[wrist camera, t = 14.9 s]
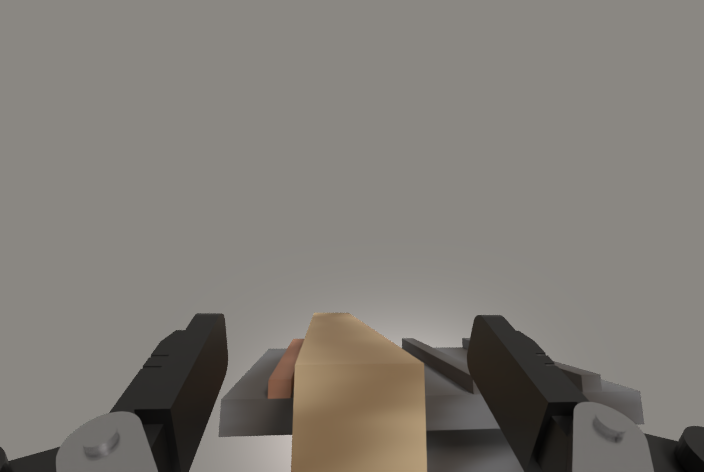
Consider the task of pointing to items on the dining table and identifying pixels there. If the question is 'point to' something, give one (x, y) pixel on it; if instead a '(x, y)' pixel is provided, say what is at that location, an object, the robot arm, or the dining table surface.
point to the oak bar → (356, 401)
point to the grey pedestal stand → (440, 406)
